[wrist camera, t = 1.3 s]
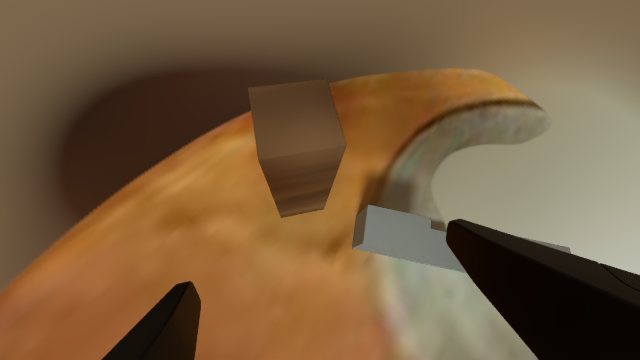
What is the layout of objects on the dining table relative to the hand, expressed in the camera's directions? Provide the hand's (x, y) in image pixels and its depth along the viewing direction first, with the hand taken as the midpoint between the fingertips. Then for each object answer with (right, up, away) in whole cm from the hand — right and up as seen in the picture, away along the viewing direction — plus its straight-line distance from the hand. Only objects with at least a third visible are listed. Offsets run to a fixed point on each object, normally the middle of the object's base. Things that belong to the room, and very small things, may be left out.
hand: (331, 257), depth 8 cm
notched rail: (+11, -4, +13) cm, 17 cm away
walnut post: (-2, +1, +14) cm, 15 cm away
